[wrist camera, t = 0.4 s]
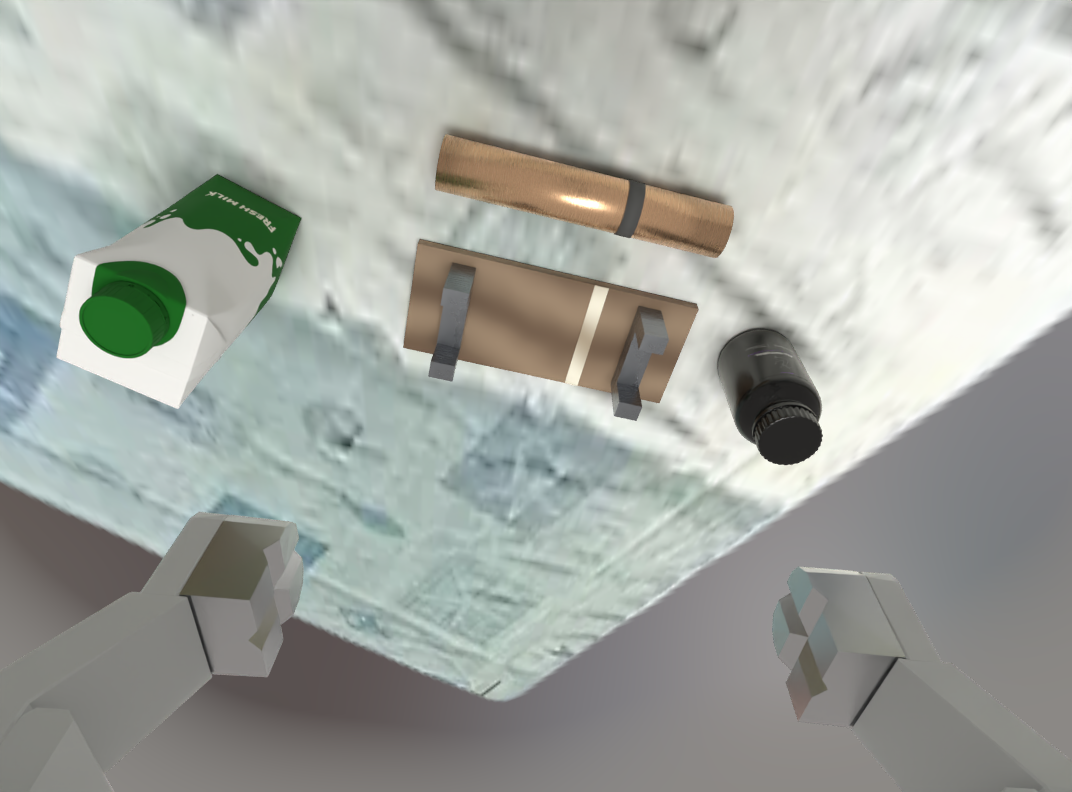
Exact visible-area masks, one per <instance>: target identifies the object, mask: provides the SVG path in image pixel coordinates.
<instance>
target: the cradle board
mask: <svg viewBox="0 0 1072 792" xmlns="http://www.w3.org/2000/svg"><path fill="white" fill-rule="evenodd" d="M452 262H454V263H458V264H462V265H466V266H471V267H475V268H476V272H475V278H474V283H473V288H472V293H471V298H470V303H469V308H468V313H467V318H466V323H465V328H464V333H463V338H462V343H461V349H460V353H459V357H458V360H462V361H467V362H472V363H476V364H481V365H485V366H490V367H495V368H499V369H504V370H508V371H513V372H518V373H522V374H527V375H532V376H536V377H541V378H545V379H550V380H555V381H559V382H564V383H566V384H570V385H575V386H577V385H578V386H582V387H587V388H591V389H596V390H601V391H605V392H610V393H611V381H612V378H613V376H614V373H615V370H616V367H617V365H618V362H619V359H620V356H621V353H622V351H623V348H624V345H625V342H626V339H627V337H628V334H629V331H630V328H631V326H632V323H633V320H634V317H635V314H636V312H637V309H638V306H643V307H647V308H652V309H656V310H660V311H661V312H662V315H663V319H664V323H665V326H666V330H667V334H668V337H669V341H668V343H667V346H666V348H665V351H664V353H663V355H659V354H654V353H652V354H651V357H650V359H649V362H648V365H647V367H646V370H645V372H644V375H643V377H642V380H641V383H640V385H639V392H640V398H641V399H642V400H647V401H651V402H656V403H660V400H661V398H662V395H663V393H664V391H665V388H666V386H667V383H668V381H669V379H670V376H671V374H672V372H673V369H674V367H675V364H676V362H677V360H678V357H679V355H680V352H681V350H682V348H683V345H684V343H685V340H686V338H687V336H688V333H689V331H690V328H691V326H692V324H693V321H694V319H695V316H696V314H697V312H698V307H697V304H694V303H690V302H686V301H681V300H677V299H673V298H669V297H664V296H660V295H656V294H652V293H647V292H643V291H639V290H635V289H630V288H626V287H622V286H617V285H613V284H609V283H605V282H600V281H596V280H592V279H588V278H583V277H579V276H575V275H571V274H566V273H562V272H558V271H554V270H549V269H545V268H541V267H537V266H532V265H528V264H524V263H519V262H515V261H511V260H507V259H502V258H498V257H494V256H490V255H485V254H481V253H477V252H473V251H468V250H464V249H460V248H456V247H451V246H447V245H443V244H438V243H434V242H430V241H426V240H421V239H420V240H419V242H418V246H417V253H416V260H415V267H414V274H413V281H412V289H411V296H410V303H409V310H408V317H407V324H406V331H405V339H404V346H403V348H407V349H412V350H416V351H421V352H426V353H430V354H433V353H434V350H435V347H436V344H437V339H438V333H439V327H440V322H441V316H442V310H443V306H441V299H442V293H443V288H444V285H445V282H446V279H447V276H448V274H449V271H450V268H451V265H452Z"/></svg>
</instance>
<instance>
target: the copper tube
mask: <svg viewBox="0 0 1072 792" xmlns="http://www.w3.org/2000/svg"><path fill="white" fill-rule="evenodd" d="M435 189H436V190H438V191H442V192H446V193H450V194H454V195H458V196H463V197H467V198H471V199H475V200H479V201H483V202H487V203H491V204H495V205H499V206H504V207H508V208H512V209H516V210H520V211H524V212H528V213H532V214H536V215H540V216H544V217H549V218H553V219H557V220H561V221H565V222H569V223H573V224H577V225H581V226H585V227H590V228H594V229H598V230H602V231H606V232H610V233H614V234H615V235H619V236H623V237H627V238H635V239H639V240H643V241H647V242H651V243H655V244H659V245H663V246H667V247H672V248H676V249H680V250H684V251H688V252H692V253H696V254H700V255H704V256H708V257H713V258H717V257H718V256H719V255H720V254H721V253H722V251H723V250H724V248H725V246H726V244H727V242H728V239H729V236H730V233H731V230H732V225H733V219H734V211H733V208H732V207H731V206H728V205H724V204H720V203H716V202H712V201H708V200H704V199H700V198H696V197H692V196H688V195H685V194H681V193H677V192H673V191H669V190H665V189H661V188H657V187H653V186H649V185H645V184H644V183H641V182H637V181H633V180H625V179H621V178H617V177H613V176H609V175H605V174H601V173H598V172H594V171H590V170H586V169H582V168H578V167H574V166H570V165H566V164H562V163H558V162H554V161H550V160H546V159H542V158H538V157H534V156H530V155H526V154H522V153H518V152H514V151H511V150H507V149H503V148H499V147H495V146H491V145H487V144H483V143H479V142H475V141H471V140H467V139H463V138H459V137H455V136H451V135H447V134H446V135H445V136H444V139H443V142H442V146H441V150H440V154H439V160H438V165H437V172H436V180H435Z"/></svg>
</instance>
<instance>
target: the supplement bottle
mask: <svg viewBox="0 0 1072 792" xmlns="http://www.w3.org/2000/svg"><path fill="white" fill-rule="evenodd" d="M718 373H719V377H720V380H721V383H722V386H723V389H724V392H725V395H726V398H727V401H728V404H729V407H730V410H731V413H732V416H733V419H734V422H735V425H736V427H737V429H738V431H739V432H740V434H741V435H742V436H743V437H744V438H745V439H747V440H748V441H750V442H751V443H753V444H755V445H757V448H758V450H759V451H760V454H761V455H762V456H763V457H764V458H765V459H767V460H768V461H769V462H772V463H774V464H779V465H782V464H783V465H788V464H790V465H792V464H795V463H799V462H801V461H804V460H805V459H807V458H809V457H810V456H811V455H813V454H814V453H815V452H816V451H817V450H818V447H819V446H820V445H821V442H822V436H823V435H822V429H821V427H820V425H819V423H818V422H819V419H820V416H821V411H822V403H821V398H820V396H819V393H818V391H817V389H816V388H815V386H814V384H813V382H812V380H811V379H810V377H809V375H808V373H807V371H806V369H805V368H804V366H803V364H802V362H801V360H800V358H799V357H798V355H797V353H796V351H795V349H794V348H793V346H792V344H791V343H790V342H789V341H788V340H787V339H786V338H785V337H784V336H782V335H781V334H779V333H777V332H774V331H770V330H752V331H748V332H745V333H743V334H741V335H739V336H737V337H735V338H734V339H733V340H731V341H730V342H729V343H728V344H727V345H726V346H725V348H724V349H723V351H722V352H721V355H720V357H719V361H718Z"/></svg>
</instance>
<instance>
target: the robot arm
mask: <svg viewBox="0 0 1072 792" xmlns="http://www.w3.org/2000/svg"><path fill="white" fill-rule="evenodd" d="M298 540H299V536H298V531H297V526H296V524H295V523H293V522H289V521H280V520H271V519H263V518H254V517H245V516H236V515H223V514H214V513H206V512H198V513H197V514H195V515H194V516H192V517H191V518H190V519H189V520H188V522H187V523H186V525H185V526H184V528H183V529H182V531H181V532H180V534H179V535H178V537H177V538H176V540H175V541H174V543H173V544H172V546H171V547H170V549H169V550H168V552H167V553H166V555H165V556H164V558H163V559H162V561H161V562H160V564H159V565H158V567H157V568H156V570H155V571H154V573H153V575H152V576H151V577H150V579H149V580H148V582H147V583H146V585H145V586H144V588H143V589H142V591H141V592H130V593H128V594H126V595H125V596H123V597H121V598H120V599H118V600H116V601H115V602H113V603H111V604H110V605H108V606H106V607H105V608H103V609H101V610H100V611H98V612H96V613H95V614H94V615H92V616H90V617H88V618H87V619H85V620H83V621H82V622H80V623H78V624H77V625H75V626H74V627H72V628H70V629H68V630H67V631H65V632H63V633H62V634H60V635H58V636H57V637H55V638H53V639H52V640H50V641H48V642H47V643H45V644H44V645H42V646H40V647H38V648H37V649H35V650H33V651H32V652H30V653H28V654H27V655H25V656H24V657H22V658H20V659H19V660H17V661H15V662H14V663H12V664H10V665H9V666H7V667H6V668H4V669H2V670H0V792H114V791H113V789H112V787H111V786H110V784H109V782H108V780H107V778H106V776H105V773H106V772H108V771H109V770H110V769H111V768H112V767H113V766H114V765H115V764H116V763H118V762H119V761H120V760H121V759H122V758H123V757H124V756H125V755H126V754H127V753H129V752H130V751H131V750H132V749H133V748H134V747H135V746H136V745H137V744H138V743H140V742H141V741H142V740H143V739H144V738H145V737H146V736H147V735H148V734H150V733H151V732H152V731H153V730H154V729H155V728H156V727H157V726H158V725H160V724H161V723H162V722H163V721H164V720H165V719H166V718H167V717H169V715H171V714H172V713H173V712H174V711H175V710H176V709H177V708H178V707H180V706H181V705H182V704H183V703H184V702H185V701H186V700H187V699H188V698H190V697H191V696H192V695H193V694H194V693H195V692H196V691H197V690H198V689H200V688H201V687H202V686H203V685H204V684H205V683H206V682H207V681H208V680H210V679H211V678H212V675H211V674H220V675H238V676H256V677H268V675H269V673H270V670H271V667H272V665H273V663H274V661H275V658H276V656H277V654H278V651H279V648H280V646H281V644H282V641H283V635H282V630H281V624H282V623H284V622H285V621H286V620H287V619H289V618H290V617H292V616H293V614H294V612H295V609H296V607H297V604H298V602H299V598H300V594H301V589H302V584H303V561H302V557H301V556H300V555H299V554H298V553H297V552H295V551H294V549H295V546H296V544H297V542H298ZM787 583H788V586H789V588H790V591H791V593H789V594H788V595H786V596H785V597H783V598H781V599H780V600H779V601H778V604H777V606H776V609H775V611H774V614H773V626H772V632H773V640H774V645H775V649H776V652H777V656H778V658H779V659H780V660H781V661H782V662H783V663H784V664H785V665H786V666H787V667H788V668H789V669H790V670H791V673H790V675H789V677H788V679H787V681H786V685H787V688H788V691H789V694H790V697H791V700H792V704H793V707H794V710H795V714H796V717H797V720H798V722H805V723H813V724H822V725H832V726H840V727H849V728H852V730H851V731H852V732H853V734H854V735H855V736H856V737H857V738H858V740H859V741H860V742H861V743H862V744H863V746H864V747H865V748H866V749H867V750H868V751H869V753H870V754H871V755H872V756H873V757H874V759H875V760H876V761H877V762H878V763H879V765H880V766H881V767H882V768H883V769H884V770H885V772H886V773H887V774H888V775H889V776H890V777H891V779H892V780H893V781H894V782H895V783H896V785H897V786H898V787H899V788H900V789H901V791H902V792H1072V760H1070V759H1069V758H1068V757H1067V756H1065V755H1064V754H1063V753H1062V752H1060V751H1059V750H1058V749H1057V748H1055V747H1054V746H1053V745H1052V744H1051V743H1049V742H1048V741H1047V740H1046V739H1044V738H1043V737H1042V736H1041V735H1039V734H1038V733H1037V732H1036V731H1034V730H1033V729H1032V728H1031V727H1029V726H1028V725H1027V724H1026V723H1025V722H1023V721H1022V720H1021V719H1020V718H1018V717H1017V716H1016V715H1015V714H1013V713H1012V712H1011V711H1010V710H1009V709H1008V708H1006V707H1005V706H1004V705H1003V704H1001V703H1000V702H999V701H998V700H996V699H995V698H994V697H993V696H991V695H990V694H989V693H988V692H987V691H985V690H984V689H983V688H982V687H980V686H979V685H978V684H977V683H975V682H974V681H973V680H972V679H971V678H969V677H968V676H967V675H966V674H964V673H963V672H962V671H961V670H959V669H958V668H957V667H956V666H955V665H953V664H952V663H944V662H942V661H941V659H940V657H939V655H938V653H937V651H936V650H935V648H934V646H933V644H932V642H931V641H930V639H929V637H928V635H927V633H926V632H925V630H924V628H923V626H922V624H921V622H920V620H919V619H918V617H917V615H916V613H915V611H914V609H913V608H912V606H911V604H910V602H909V600H908V599H907V597H906V595H905V593H904V591H903V589H902V588H901V586H900V584H899V582H898V580H897V579H896V578H895V577H893V576H892V575H891V574H882V573H881V574H880V573H870V572H856V571H846V570H834V569H821V568H809V567H797V568H796V569H795V570H794V571H792V573H791V575H790V577H789V579H788V581H787Z"/></svg>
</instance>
